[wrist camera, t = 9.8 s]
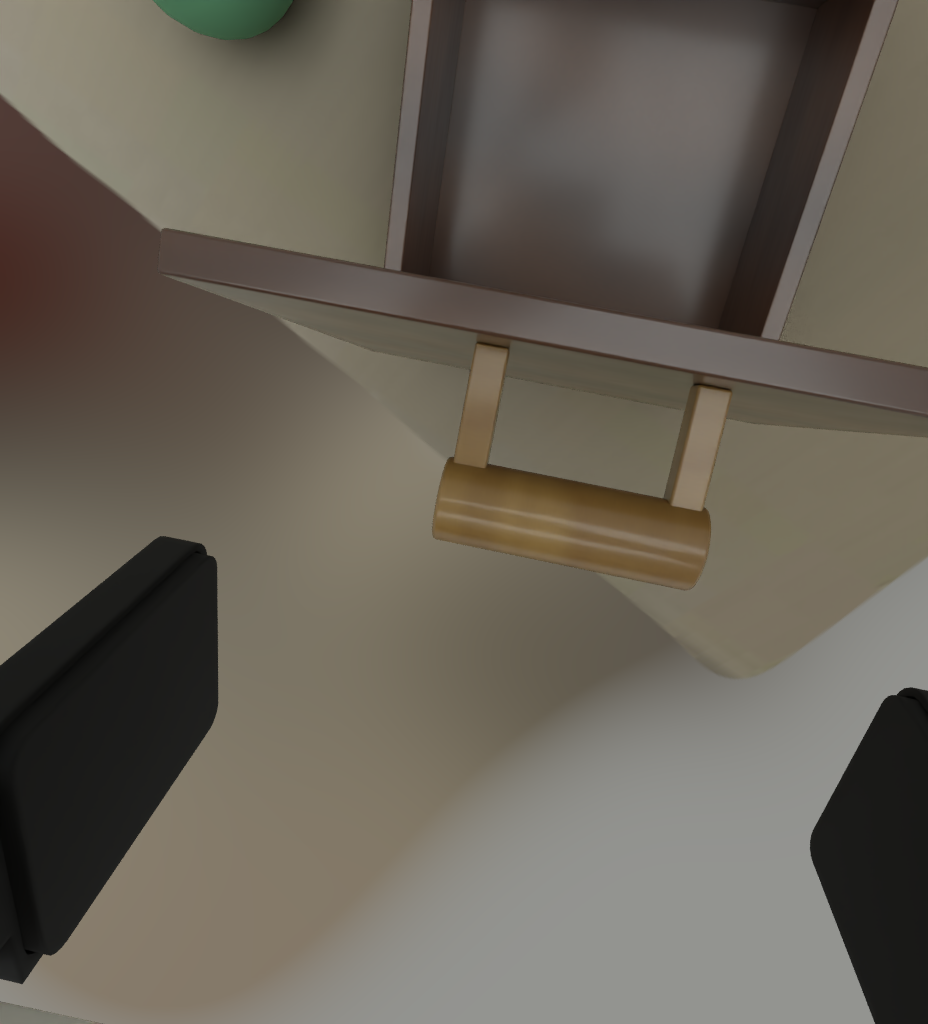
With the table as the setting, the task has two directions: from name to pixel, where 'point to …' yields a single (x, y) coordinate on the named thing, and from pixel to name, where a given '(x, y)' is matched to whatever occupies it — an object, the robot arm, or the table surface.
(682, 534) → the lid
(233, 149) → the table surface
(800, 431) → the table surface
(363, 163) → the table surface
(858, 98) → the chest
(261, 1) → the alien toy
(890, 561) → the table surface
